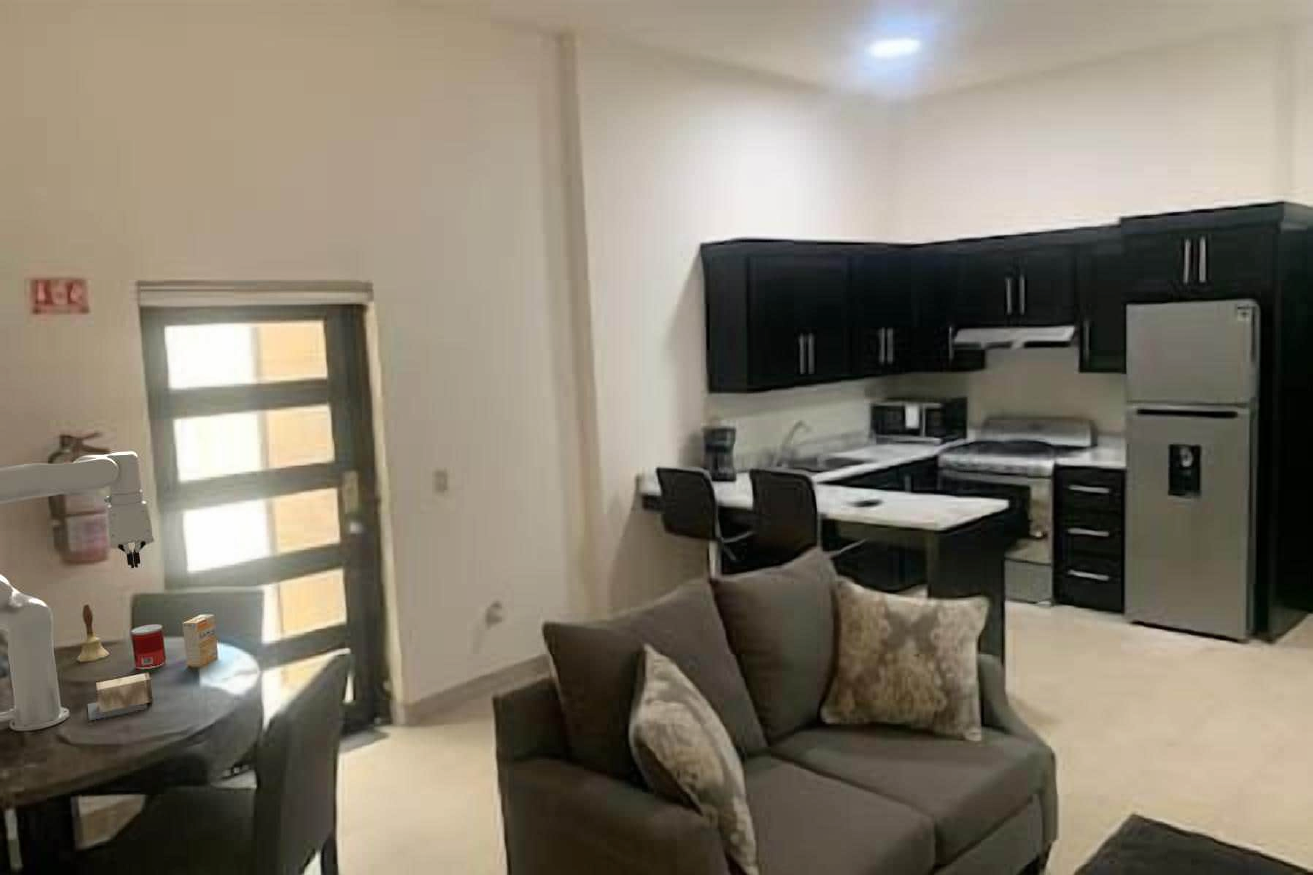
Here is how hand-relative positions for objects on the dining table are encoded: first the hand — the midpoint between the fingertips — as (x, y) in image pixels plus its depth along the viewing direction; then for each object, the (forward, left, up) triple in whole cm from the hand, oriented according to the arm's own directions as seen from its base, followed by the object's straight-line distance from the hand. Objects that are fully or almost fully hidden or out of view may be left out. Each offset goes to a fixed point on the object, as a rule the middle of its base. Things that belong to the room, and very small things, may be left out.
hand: (134, 566), depth 271 cm
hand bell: (-12, +39, -33) cm, 53 cm away
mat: (-8, -12, -33) cm, 36 cm away
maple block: (0, -12, -30) cm, 32 cm away
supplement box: (+15, +12, -33) cm, 38 cm away
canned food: (+2, +19, -33) cm, 38 cm away
